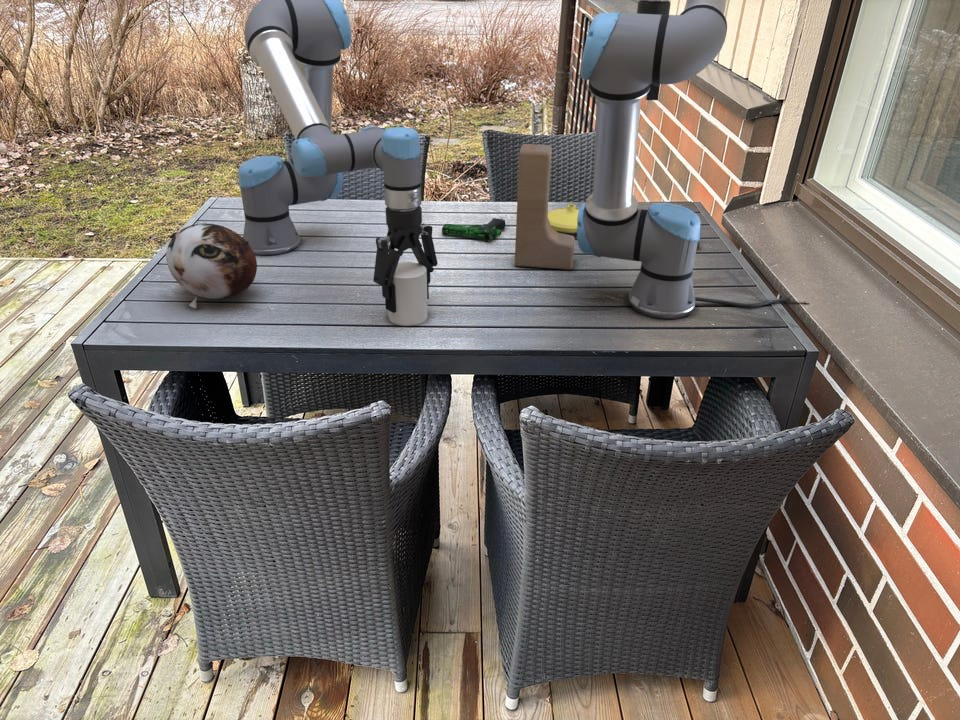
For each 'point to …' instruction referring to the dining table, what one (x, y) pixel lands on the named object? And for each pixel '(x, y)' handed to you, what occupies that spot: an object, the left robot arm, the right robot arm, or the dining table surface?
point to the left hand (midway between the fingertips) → (407, 303)
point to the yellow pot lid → (564, 219)
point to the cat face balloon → (211, 261)
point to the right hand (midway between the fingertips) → (642, 94)
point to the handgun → (476, 230)
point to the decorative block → (538, 214)
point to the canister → (410, 294)
